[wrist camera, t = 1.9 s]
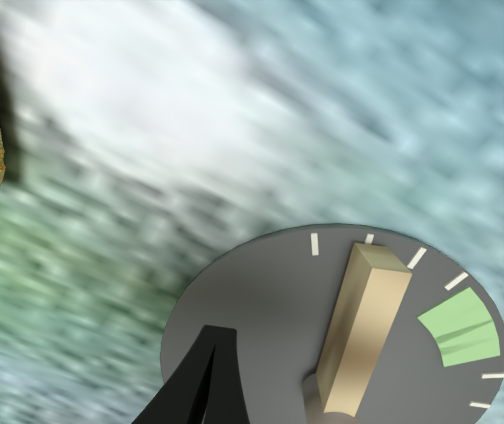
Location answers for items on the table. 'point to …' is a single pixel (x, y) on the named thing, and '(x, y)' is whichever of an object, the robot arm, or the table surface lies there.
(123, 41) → the table surface
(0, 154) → the croissant
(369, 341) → the pointer
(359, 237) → the dial
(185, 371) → the robot arm
